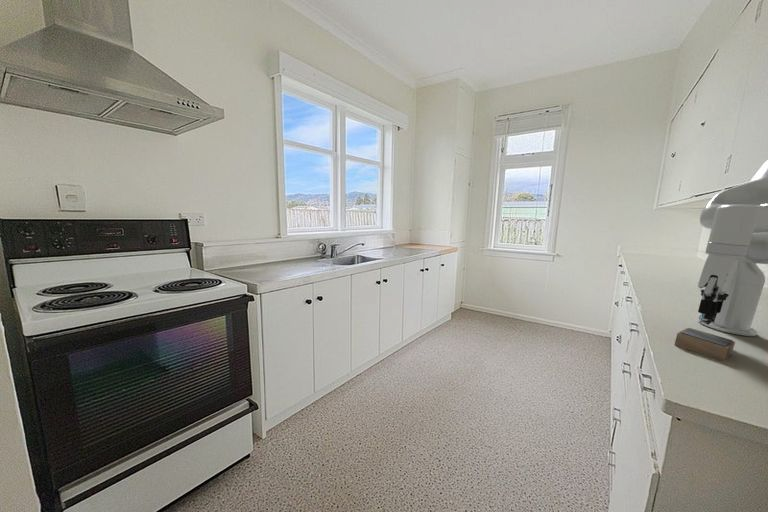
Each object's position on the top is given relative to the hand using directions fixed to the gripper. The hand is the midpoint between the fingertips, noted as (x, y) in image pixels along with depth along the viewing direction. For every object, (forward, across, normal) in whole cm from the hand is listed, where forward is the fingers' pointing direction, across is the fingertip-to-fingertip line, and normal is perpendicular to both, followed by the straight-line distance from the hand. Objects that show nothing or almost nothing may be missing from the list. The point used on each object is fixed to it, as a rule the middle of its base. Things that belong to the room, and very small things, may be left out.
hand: (709, 312), depth 84 cm
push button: (+3, 0, 0) cm, 3 cm away
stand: (+8, +11, +2) cm, 14 cm away
